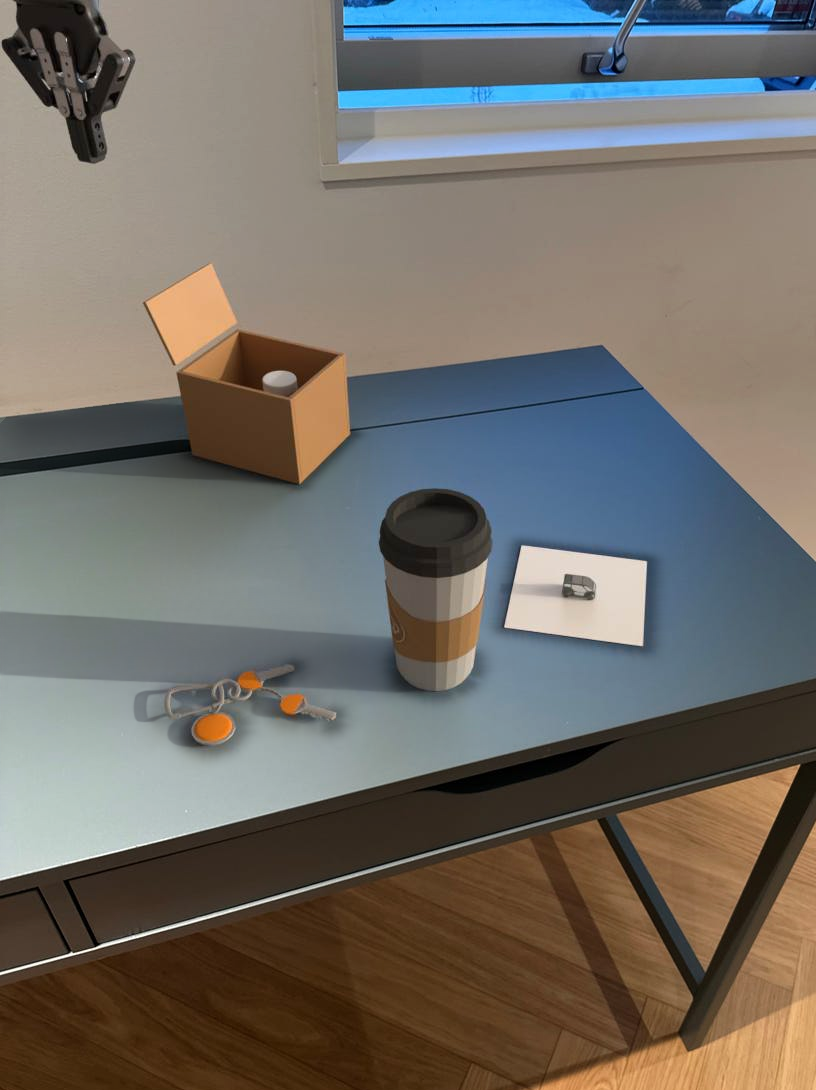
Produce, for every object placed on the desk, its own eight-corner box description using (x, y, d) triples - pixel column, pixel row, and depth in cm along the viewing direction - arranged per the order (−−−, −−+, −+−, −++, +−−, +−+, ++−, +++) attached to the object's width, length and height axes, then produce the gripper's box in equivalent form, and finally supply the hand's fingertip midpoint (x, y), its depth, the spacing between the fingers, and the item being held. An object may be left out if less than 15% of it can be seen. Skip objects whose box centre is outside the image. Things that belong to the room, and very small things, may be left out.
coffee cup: (374, 642, 79) (365, 493, 69) (468, 624, 81) (473, 477, 71) (398, 712, 73) (393, 561, 63) (499, 690, 75) (509, 541, 65)
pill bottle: (307, 455, 99) (300, 388, 94) (264, 455, 99) (255, 388, 93) (308, 433, 102) (302, 367, 97) (268, 434, 102) (259, 368, 97)
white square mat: (642, 646, 80) (645, 633, 79) (504, 627, 81) (505, 614, 80) (646, 561, 89) (649, 548, 88) (521, 545, 90) (522, 532, 89)
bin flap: (176, 365, 92) (173, 365, 92) (237, 322, 100) (234, 323, 100) (145, 302, 89) (142, 302, 89) (211, 262, 96) (208, 263, 96)
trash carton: (192, 455, 99) (175, 372, 93) (249, 408, 107) (237, 328, 100) (299, 484, 96) (290, 400, 90) (350, 434, 104) (345, 353, 97)
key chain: (166, 753, 69) (164, 746, 69) (164, 684, 74) (162, 677, 74) (338, 725, 72) (337, 718, 71) (325, 660, 77) (324, 653, 76)
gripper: (137, -68, 77) (176, 160, 89) (8, -82, 80) (62, 140, 92) (75, -58, 72) (125, 183, 83) (-60, -74, 75) (7, 160, 87)
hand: (92, 160), depth 88 cm, fingers closed
